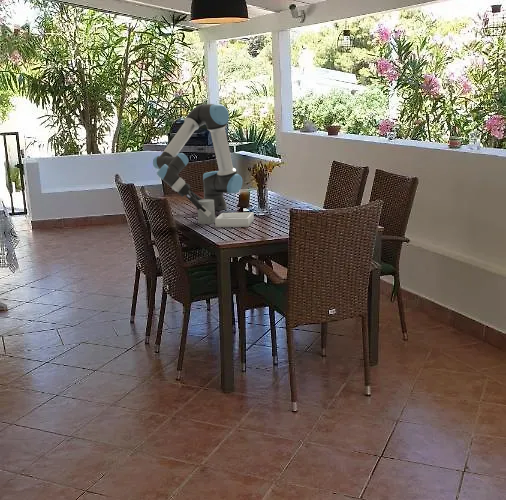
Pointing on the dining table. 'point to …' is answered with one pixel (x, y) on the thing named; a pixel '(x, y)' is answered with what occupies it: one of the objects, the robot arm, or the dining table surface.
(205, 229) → the dining table surface
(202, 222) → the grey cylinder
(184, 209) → the dining table surface
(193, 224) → the dining table surface
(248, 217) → the white square tray
